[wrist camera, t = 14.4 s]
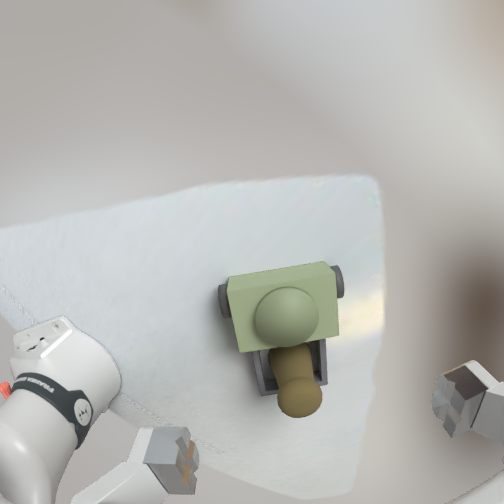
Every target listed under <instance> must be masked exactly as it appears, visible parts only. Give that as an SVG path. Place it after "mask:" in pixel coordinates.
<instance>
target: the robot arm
mask: <svg viewBox="0 0 504 504" xmlns="http://www.w3.org/2000/svg"><path fill="white" fill-rule="evenodd" d="M57 325H58V326H57ZM13 342H14V348H15V352H14V354H13V355H12V356H11V357H10V369H11V372H12V375H13V378H14V381H15V382H14V385H13V387H12V390H11V388H10V385H9V383H8V382H4V383H2V384H1V385H0V391H1V393H2V394H3V396H4V398H5V399H7V400H6V401H5V402H4V403H3V404H2V405H1V406H0V504H55V499H56V493H57V489H58V486H59V483H60V480H61V478H62V475H63V473H64V471H65V469H66V467H67V464H68V462H69V460H70V458H71V456H72V454H73V452H74V450H76V449H78V448H79V447H80V446H81V444H82V443H83V442H84V440H85V437H86V435H87V433H88V431H89V429H90V427H91V426H92V425H93V424H94V422H95V421H96V420H97V418H98V417H99V415H100V414H101V413H104V412H106V410H107V409H108V407H109V402H110V401H111V400H112V399H113V398H114V397H115V396H116V395H117V394H118V392H119V390H120V386H121V378H120V373H119V370H118V368H117V366H116V364H115V362H114V360H113V359H112V357H111V356H110V354H109V353H108V352H107V351H106V350H105V349H104V348H103V347H102V346H101V345H100V344H99V343H98V342H97V341H95V340H94V339H93V338H91V337H90V336H88V335H86V334H84V333H82V332H81V331H79V330H78V329H76V328H75V326H74V325H73V324H72V323H71V322H70V321H69V320H68V319H67V318H65V317H63V316H59V317H56V318H53V319H51V320H48V321H46V322H43V323H40V324H38V325H35V326H33V327H30V328H28V329H25V330H22V331H20V332H17V333H16V334H15V335H14V337H13ZM435 385H436V386H437V387H438V388H437V389H436V390H435V392H434V393H433V396H432V400H431V402H432V409H433V411H434V414H435V415H436V417H437V418H439V419H441V420H444V423H443V427H444V428H445V430H446V431H447V433H448V434H449V435H450V437H451V438H453V437H455V436H457V435H459V434H461V433H463V432H465V431H468V430H470V429H471V430H472V431H474V432H476V433H478V434H480V435H482V436H484V437H486V438H488V439H491V440H493V441H495V442H497V443H499V444H501V445H504V382H501V383H499V382H498V381H497V380H496V379H495V378H493V377H492V376H491V375H490V374H489V373H488V372H487V371H486V370H485V369H484V368H483V367H482V366H481V365H480V364H478V362H476V361H474V360H472V361H470V362H467V363H465V364H463V365H461V366H458V367H456V368H454V369H452V370H450V371H447V372H445V373H442V374H440V375H438V377H437V378H436V382H435ZM190 436H191V434H190V432H189V430H188V428H186V427H147V426H142V427H141V428H140V429H139V430H138V433H137V435H136V438H135V441H134V443H133V446H132V449H131V451H130V454H129V457H128V460H127V462H121V463H120V464H119V465H118V466H116V467H115V468H113V469H112V470H111V471H109V472H108V473H106V474H105V475H104V476H102V477H101V478H99V479H98V480H97V481H95V482H94V483H93V484H91V485H90V486H88V487H87V488H85V489H84V490H82V491H81V492H79V493H78V494H76V495H75V496H74V497H73V499H72V501H71V504H162V503H163V502H164V501H165V500H166V499H167V498H168V496H169V494H187V495H188V494H191V495H192V494H195V488H196V481H197V478H196V477H195V475H194V472H195V471H196V470H197V469H198V466H199V453H198V450H197V447H196V444H195V443H194V442H192V441H191V440H190ZM502 462H503V463H504V456H503V459H502ZM446 504H504V469H503V470H501V471H500V472H498V473H497V474H495V475H494V476H492V477H491V478H489V479H488V480H486V481H485V482H483V483H481V484H480V485H478V486H476V487H475V488H473V489H471V490H470V491H468V492H466V493H464V494H463V495H461V496H459V497H457V498H455V499H453V500H452V501H450V502H448V503H446Z"/></svg>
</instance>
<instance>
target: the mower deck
mask: <svg viewBox="0 0 504 504" xmlns="http://www.w3.org/2000/svg"><path fill="white" fill-rule="evenodd" d="M218 293H219V302H220V307H221V311H222V315H223V317H224V318H227V317H232V319H233V324H234V328H235V333H236V338H237V342H238V347H239V351H240V353H243V352H250V351H252V355H253V360H254V365H255V370H256V375H257V380H258V385H259V390H260V394H261V396H266V395H273V394H278V392H279V386H278V384H277V381H276V379H274V380H267V381H265V380H264V375H263V369H262V364H261V359H260V353H259V350H263V349H269V348H276V347H292V346H296V345H299V344H301V343H304V342H309V341H314V340H316V344H317V358H318V372H313V376H314V381H315V382H316V383H317V384H318V385H319V386H322V385H327V384H328V381H327V358H326V340H325V338H329V337H334V336H338V335H339V322H338V304H337V299H338V298H342V297H343V296H344V282H343V277H342V273H341V270H340V268H339V267H338V266H337V265H336V266H331V267H329V266H328V265H327V263H326V262H325V261H321V262H315V263H309V264H304V265H298V266H292V267H286V268H280V269H274V270H268V271H262V272H256V273H250V274H243V275H237V276H231V277H229V280H228V284H223V285H219V287H218Z"/></svg>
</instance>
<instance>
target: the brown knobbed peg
mask: <svg viewBox="0 0 504 504" xmlns="http://www.w3.org/2000/svg"><path fill="white" fill-rule="evenodd" d="M268 357H269V363H270V365H271V368H272V370H273V373H274V376H275V378H276V381H277V384H278V386H279V392H278V396H277V399H278V406H279V407H280V409H281V410H282V412H283V413H285V414H286V415H288V416H290V417H293V418H302V417H306V416H309V415H311V414H313V413H314V412H315V411H316V410H317V409H318V408H319V407H320V405H321V402H322V391H321V389H320V386H319V385H318V384H317V383H316V382H315V381H314V376H313V367H312V358H311V349H310V347H309V345H308V344H307V343H306V342H304V343H301V344H299V345H296V346H292V347H276V348H271V349H270V351H269V355H268Z"/></svg>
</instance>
